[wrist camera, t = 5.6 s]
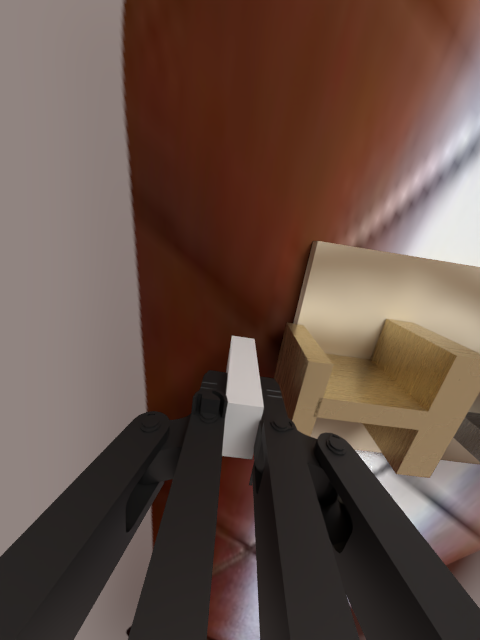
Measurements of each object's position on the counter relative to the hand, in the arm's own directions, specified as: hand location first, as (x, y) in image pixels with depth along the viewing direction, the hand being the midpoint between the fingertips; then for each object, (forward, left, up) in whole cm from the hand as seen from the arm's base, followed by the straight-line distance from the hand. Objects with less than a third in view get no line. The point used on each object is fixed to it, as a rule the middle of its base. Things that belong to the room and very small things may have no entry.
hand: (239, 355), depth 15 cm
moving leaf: (0, +7, -1) cm, 7 cm away
